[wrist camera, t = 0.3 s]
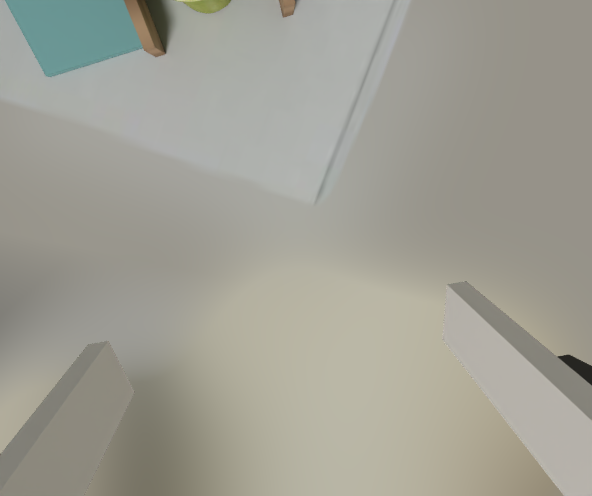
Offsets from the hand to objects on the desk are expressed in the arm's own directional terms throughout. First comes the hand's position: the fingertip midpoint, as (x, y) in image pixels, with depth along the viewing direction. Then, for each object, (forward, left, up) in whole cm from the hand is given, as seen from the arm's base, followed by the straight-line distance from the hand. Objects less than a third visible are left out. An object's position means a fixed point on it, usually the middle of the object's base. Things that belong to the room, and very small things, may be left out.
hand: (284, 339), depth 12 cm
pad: (-22, -13, -26) cm, 36 cm away
